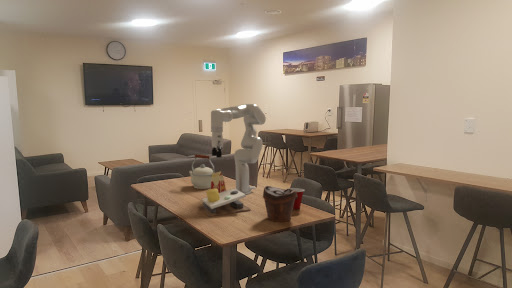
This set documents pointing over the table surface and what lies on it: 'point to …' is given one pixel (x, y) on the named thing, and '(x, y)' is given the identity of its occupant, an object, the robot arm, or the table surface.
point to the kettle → (201, 174)
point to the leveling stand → (224, 208)
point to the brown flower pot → (279, 203)
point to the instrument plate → (222, 197)
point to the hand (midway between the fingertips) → (216, 156)
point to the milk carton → (218, 182)
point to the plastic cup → (298, 201)
